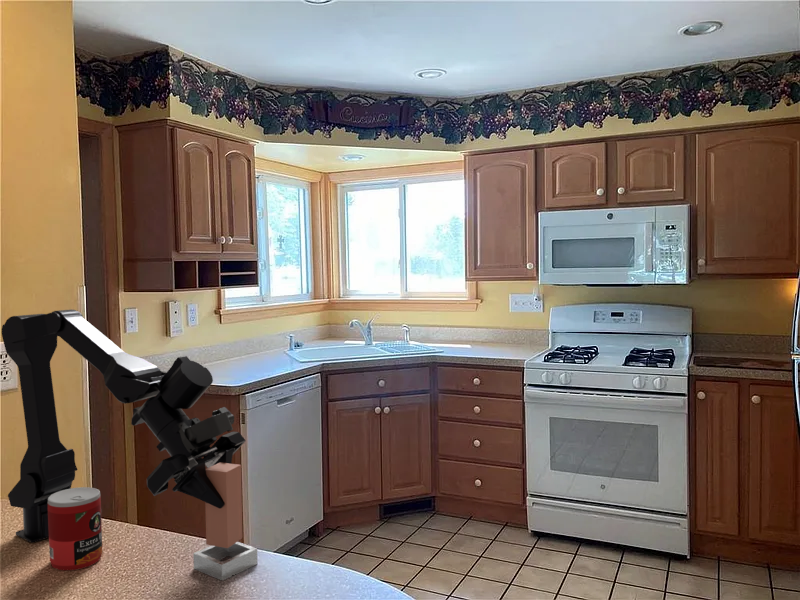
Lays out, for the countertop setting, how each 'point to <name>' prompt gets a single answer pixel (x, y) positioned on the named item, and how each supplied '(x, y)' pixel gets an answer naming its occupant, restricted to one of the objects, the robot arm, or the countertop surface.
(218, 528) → the salmon brown rectangular block
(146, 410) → the robot arm
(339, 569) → the countertop surface
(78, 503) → the canned food
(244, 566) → the gray square planter
